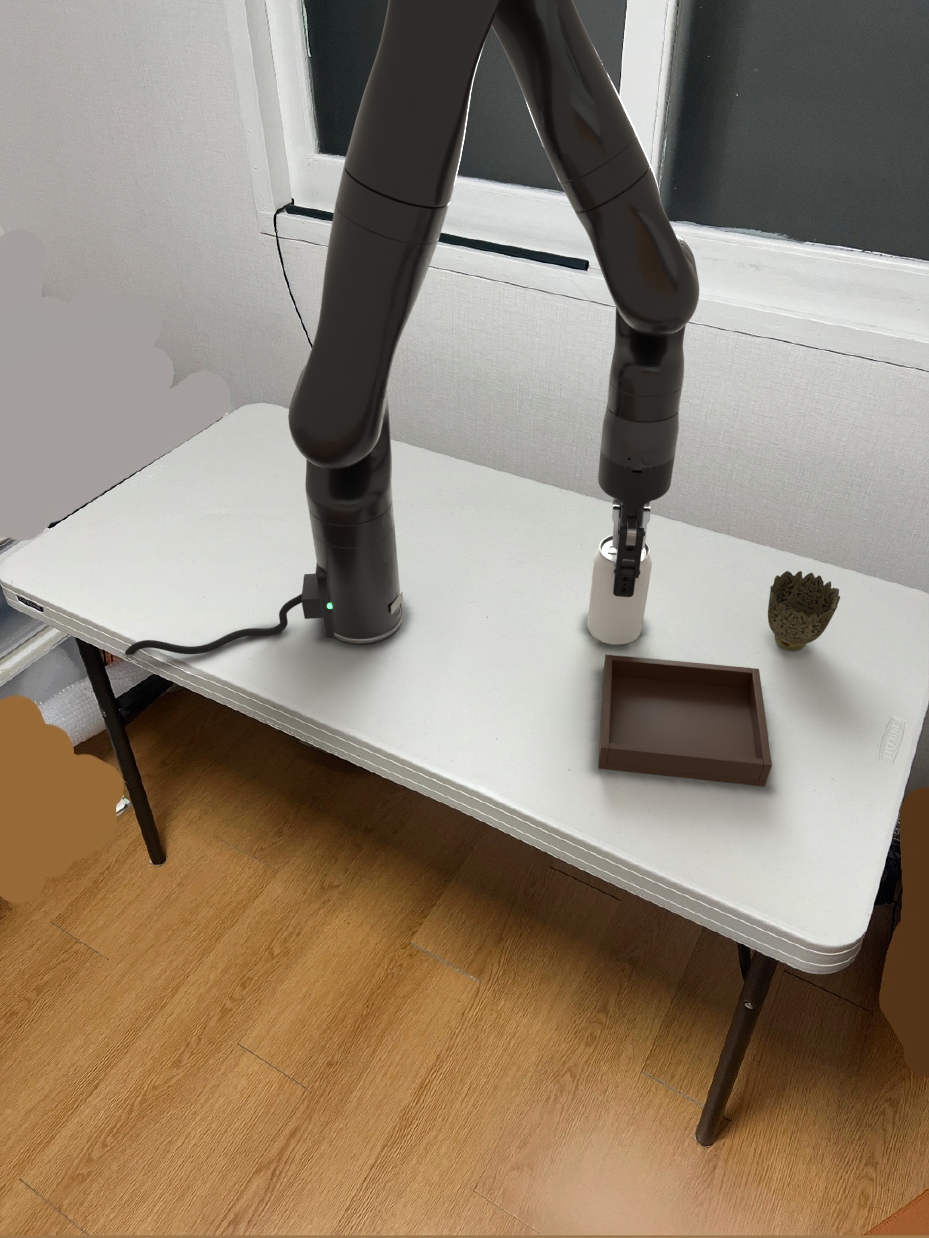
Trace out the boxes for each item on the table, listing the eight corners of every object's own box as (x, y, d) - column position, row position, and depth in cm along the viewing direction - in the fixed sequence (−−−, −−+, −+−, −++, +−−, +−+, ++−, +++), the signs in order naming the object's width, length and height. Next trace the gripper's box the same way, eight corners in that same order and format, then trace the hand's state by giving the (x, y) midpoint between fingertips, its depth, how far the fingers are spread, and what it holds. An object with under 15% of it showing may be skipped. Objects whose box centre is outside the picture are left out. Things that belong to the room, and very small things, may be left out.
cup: (811, 673, 101) (830, 621, 96) (748, 650, 104) (762, 598, 98) (829, 635, 106) (848, 583, 100) (768, 614, 108) (783, 562, 103)
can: (639, 650, 104) (652, 569, 96) (584, 643, 105) (592, 563, 97) (642, 614, 109) (655, 534, 101) (589, 608, 110) (597, 528, 102)
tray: (598, 768, 91) (600, 747, 89) (602, 675, 101) (605, 654, 99) (765, 786, 89) (772, 765, 87) (753, 689, 99) (759, 668, 97)
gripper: (603, 409, 96) (592, 531, 107) (598, 481, 86) (587, 609, 96) (674, 413, 95) (656, 536, 106) (678, 486, 85) (658, 614, 95)
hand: (623, 570), depth 101 cm, fingers open, 8 cm apart
